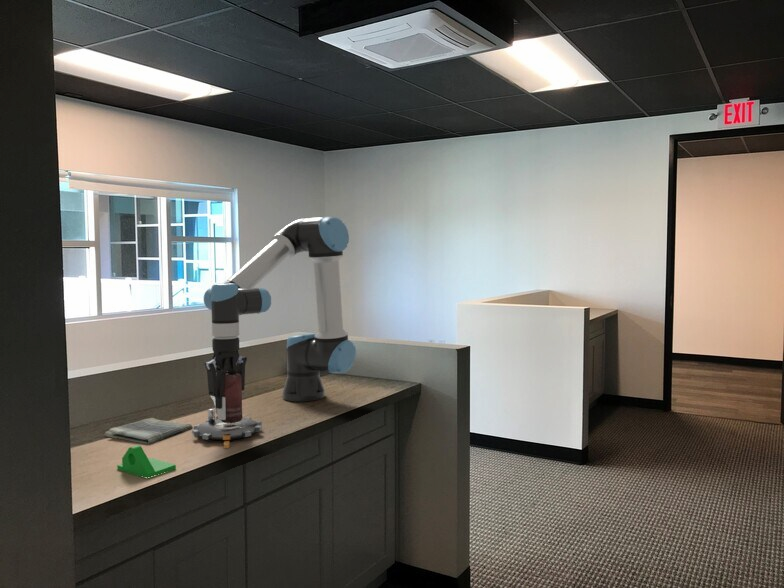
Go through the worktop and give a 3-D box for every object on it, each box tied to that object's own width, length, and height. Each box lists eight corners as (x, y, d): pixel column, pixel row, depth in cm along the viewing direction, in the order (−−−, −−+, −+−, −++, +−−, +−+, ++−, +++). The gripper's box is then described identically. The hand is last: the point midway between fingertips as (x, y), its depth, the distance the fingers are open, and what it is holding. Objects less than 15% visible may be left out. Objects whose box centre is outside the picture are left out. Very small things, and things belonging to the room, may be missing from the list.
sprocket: (209, 420, 190) (209, 404, 190) (271, 421, 188) (271, 406, 188) (180, 438, 171) (179, 422, 171) (248, 441, 169) (248, 424, 168)
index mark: (224, 445, 170) (224, 441, 169) (229, 444, 170) (229, 441, 170) (223, 448, 167) (223, 444, 167) (229, 447, 167) (229, 444, 167)
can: (215, 422, 179) (214, 374, 178) (229, 416, 184) (227, 370, 183) (233, 424, 176) (232, 375, 175) (246, 418, 182) (245, 371, 181)
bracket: (175, 470, 151) (174, 442, 150) (147, 480, 144) (146, 451, 144) (145, 461, 157) (144, 435, 157) (117, 470, 151) (116, 443, 151)
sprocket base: (247, 426, 187) (247, 423, 187) (251, 438, 176) (251, 434, 176) (205, 430, 183) (205, 427, 183) (206, 442, 172) (206, 438, 172)
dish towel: (194, 429, 187) (194, 419, 186) (148, 446, 170) (148, 435, 170) (148, 423, 194) (148, 412, 194) (100, 438, 178) (100, 427, 178)
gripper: (240, 333, 187) (241, 409, 188) (193, 339, 173) (195, 421, 175) (256, 335, 182) (258, 413, 184) (209, 341, 169) (211, 426, 170)
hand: (227, 417), depth 179 cm, fingers open, 3 cm apart
